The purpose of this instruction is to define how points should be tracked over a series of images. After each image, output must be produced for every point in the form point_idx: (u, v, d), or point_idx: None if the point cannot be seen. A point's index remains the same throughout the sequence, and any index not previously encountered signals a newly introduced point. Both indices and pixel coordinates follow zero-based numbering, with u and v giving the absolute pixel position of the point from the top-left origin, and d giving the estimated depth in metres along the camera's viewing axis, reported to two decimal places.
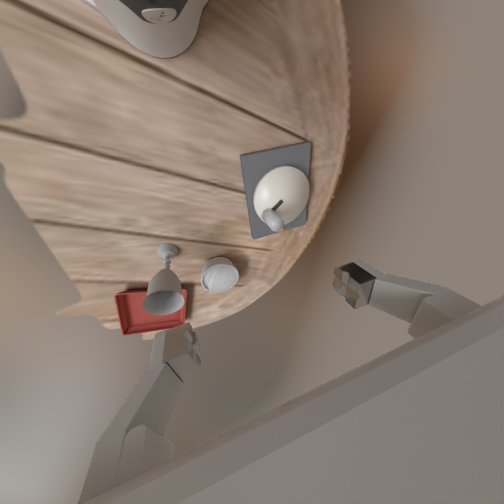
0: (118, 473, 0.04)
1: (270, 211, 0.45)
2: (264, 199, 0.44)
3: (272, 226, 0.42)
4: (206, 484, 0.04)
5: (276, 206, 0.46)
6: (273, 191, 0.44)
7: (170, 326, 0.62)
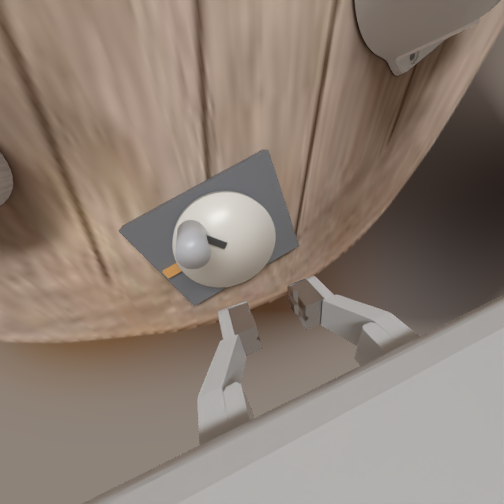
0: (229, 420, 0.05)
1: (204, 232, 0.22)
2: (219, 212, 0.24)
3: (186, 245, 0.18)
4: (206, 483, 0.04)
5: (213, 241, 0.25)
6: (236, 223, 0.25)
7: None
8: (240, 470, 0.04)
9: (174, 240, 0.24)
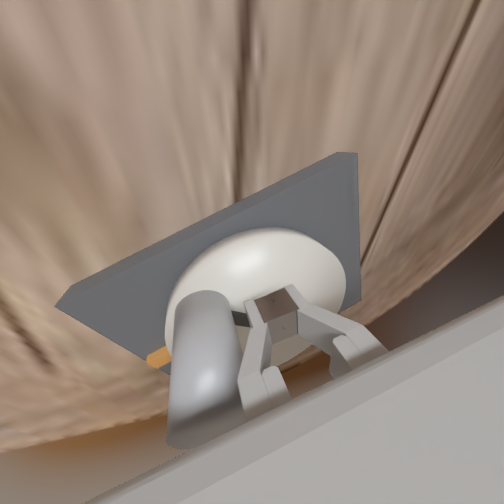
0: (271, 399, 0.05)
1: (232, 320, 0.11)
2: (258, 273, 0.12)
3: (197, 417, 0.06)
4: (205, 483, 0.04)
5: (242, 320, 0.13)
6: None
7: None
8: (240, 470, 0.04)
9: (168, 326, 0.12)
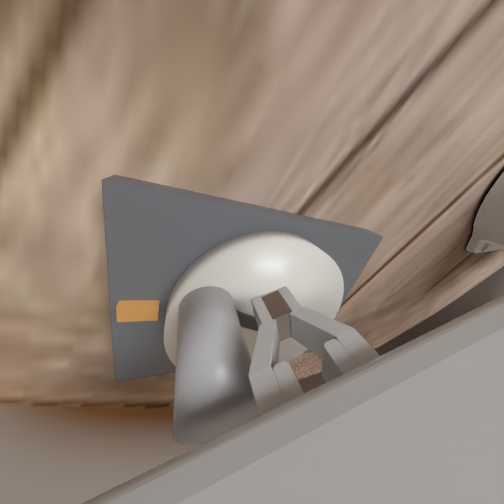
0: (283, 393, 0.05)
1: (238, 318, 0.11)
2: (265, 274, 0.12)
3: (209, 408, 0.06)
4: (206, 483, 0.04)
5: (243, 320, 0.13)
6: None
7: None
8: (240, 470, 0.04)
9: (170, 320, 0.12)
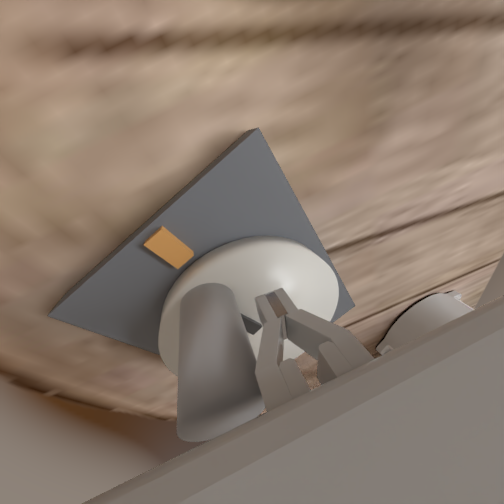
0: (290, 390, 0.05)
1: (241, 318, 0.11)
2: (270, 277, 0.12)
3: (219, 401, 0.06)
4: (206, 484, 0.04)
5: None
6: None
7: None
8: (240, 470, 0.04)
9: (169, 314, 0.11)
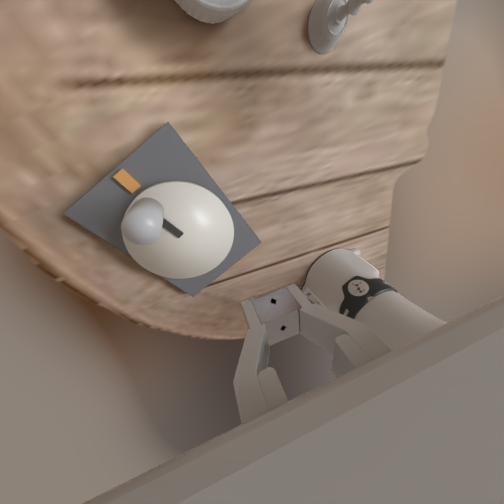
0: (267, 401, 0.05)
1: (162, 214, 0.22)
2: (183, 201, 0.24)
3: (136, 217, 0.18)
4: (205, 483, 0.04)
5: (169, 226, 0.25)
6: (197, 217, 0.26)
7: None
8: (240, 470, 0.04)
9: (127, 213, 0.23)
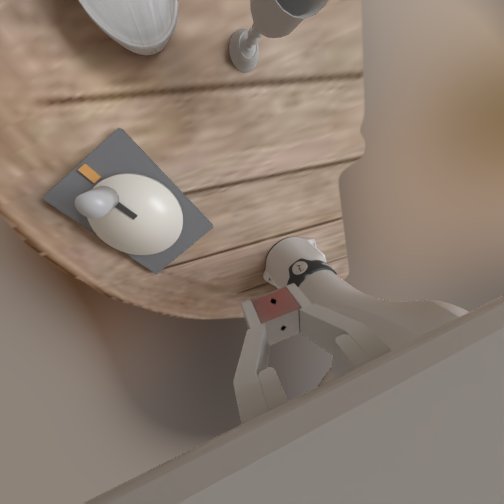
0: (267, 401, 0.05)
1: (115, 198, 0.29)
2: (134, 189, 0.31)
3: (86, 196, 0.24)
4: (206, 484, 0.04)
5: (124, 209, 0.31)
6: (148, 202, 0.32)
7: None
8: (240, 470, 0.04)
9: None
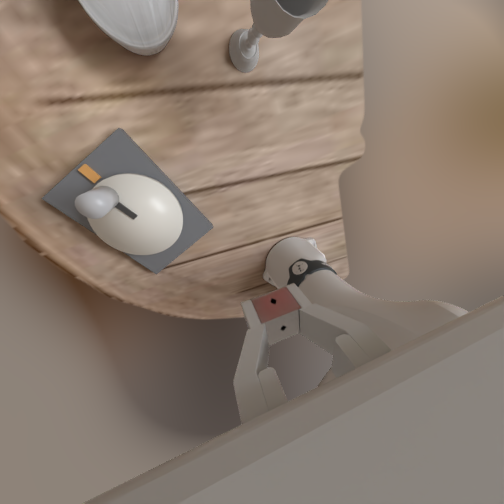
0: (267, 401, 0.05)
1: (115, 198, 0.29)
2: (134, 189, 0.31)
3: (86, 196, 0.24)
4: (206, 484, 0.04)
5: (124, 209, 0.31)
6: (148, 202, 0.32)
7: None
8: (240, 470, 0.04)
9: None
